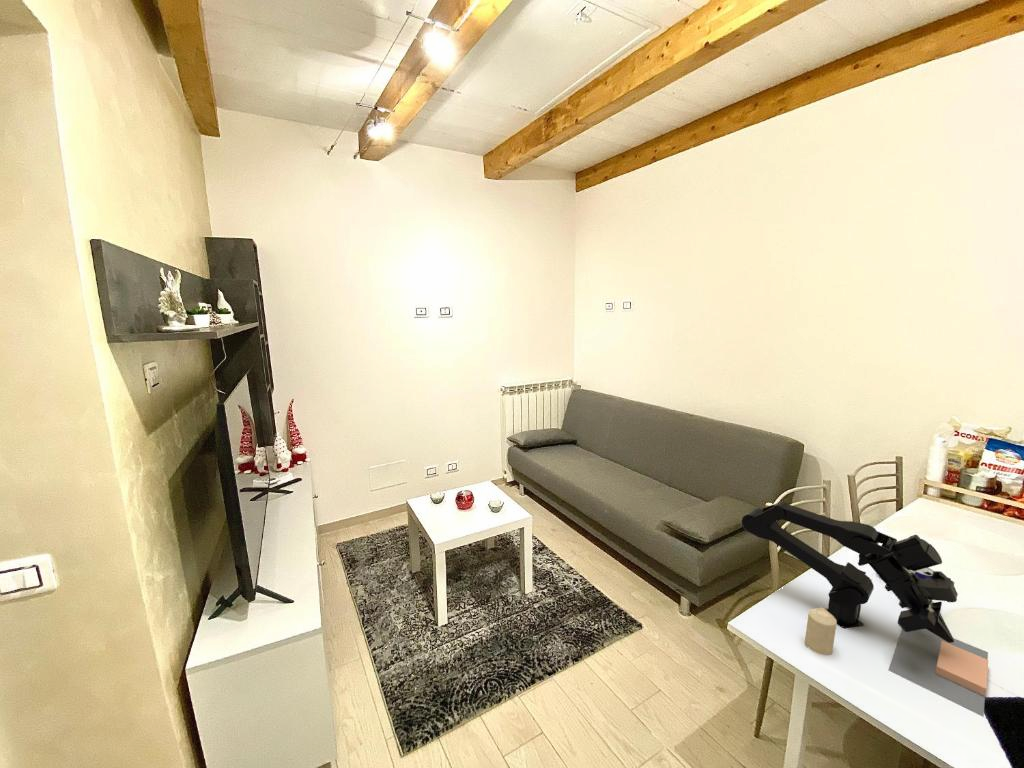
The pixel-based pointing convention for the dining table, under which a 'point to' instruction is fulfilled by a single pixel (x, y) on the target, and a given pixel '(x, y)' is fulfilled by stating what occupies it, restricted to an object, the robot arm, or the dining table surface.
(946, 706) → the dining table surface
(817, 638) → the candle
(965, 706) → the mat
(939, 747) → the dining table surface
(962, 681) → the tile
